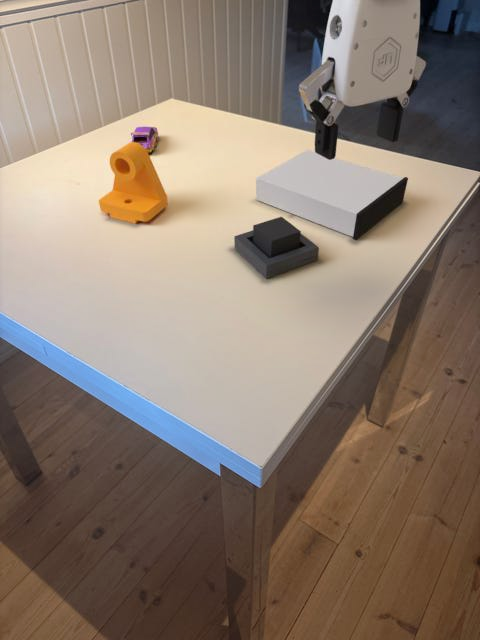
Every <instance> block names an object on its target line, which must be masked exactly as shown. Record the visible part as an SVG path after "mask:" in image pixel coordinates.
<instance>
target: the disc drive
mask: <svg viewBox="0 0 480 640" xmlns="http://www.w3.org/2000/svg"><path fill="white" fill-rule="evenodd" d="M408 181H409V177H408V176H404V177H400V176H397V175H394V174H390V173H387V172H383V171H381V170H377V169H375V168H371V167H368V166H364V165H360V164H358V163H353V162H351V161H347V160H345V159H340V158H338V157H335V158H334V159H331V160H329V159H327V158H325V157H323V156H321V155H319V154H317V153H316V152H315V150H310V149H306V150H304V151H302V152H301V153H299V154H297V155H295V156H294V157H292V158H290V159H288V160H286V161H285V162H283V163H280V164H279V165H277V166H275V167H274V168H272V169H270V170H269V171H266V172H265V173H262V175H259V176H257V177H255V200H256V201H258V202H261V203H264V204H266V205H269V206H271V207H274V208H276V209H279V210H282V211H285V212H287V213H290V214H292V215H295V216H297V217H300V218H302V219H305V220H308V221H311V222H313V223H315V224H318V225H320V226H323V227H326V228H329V229H331V230H334V231H336V232H338V233H342V234H344V235H347V236H349V237H351V238H352V240H354V241H357V240H358V239H360V238H361V237H362V236H363V235H364V234H365V233H367V231H369V230H370V229H372V228H373V227H374V226H375V225H376V224H378V223H379V222H380V221H382V220H383V219H384V218H385V217H386V216H388V215H389V214H390V213H392V211H394V210H395V209H396V208H397V207H399V206H400V205H401V204H402V203H403V202H404V198H405V194H406V190H407V185H408Z"/></svg>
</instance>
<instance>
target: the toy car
mask: <svg viewBox="0 0 480 640" xmlns="http://www.w3.org/2000/svg"><path fill="white" fill-rule="evenodd" d="M130 137H131V142H136V143H139V144H141V145H142V146H143V147H144V148H145V149H146V151H147V152H148V154H151V153H152V152H154V151H155V146H157V144H158V141H159V130H158V128H157V127H156V126H136V127H135V130H134V131H133V132H131V133H130Z"/></svg>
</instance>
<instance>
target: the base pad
mask: <svg viewBox="0 0 480 640" xmlns="http://www.w3.org/2000/svg"><path fill="white" fill-rule="evenodd" d="M233 237H234V238H233V239H234V241H233V243H234V250H235V251H236V252H237V253H238V254H239V255H240V256H241V257H242V258H244V259H245V260H246V261H247V262H248V263H249V264H250V265H251V266H252V267H253V268H254V269H255V270H256V271H257V272H259V274H260V275H262V277H263V278H265V279H266V280H267V279H270V278H272V277H276V276H278V275H282V274H284V273H286V272H289V271H292V270H294V269H297V268H300V267H303V266H305V265H308V264H312V263H313V262H317V261H318V260H319V251H320V247H319V246H318V245H317V244H315V243H314V242H313V241H312V240H310V239H309V238H308V237H306V236H305V235H304V234H302V233H301V234H300V247H299V249H296V250H293V251H290V252H287V253H284V254H281V255H278V256H275V257H273V258H270V259H269V258H268V257H267V256H266V255H265V254H264V253H263V252H262V251H261V250H259V249H258V248H257V247H256V246H255V245H254V244H253V229H252V230H250V231H246V232H243V233H240V234H237V235H234V236H233Z"/></svg>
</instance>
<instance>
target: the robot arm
mask: <svg viewBox="0 0 480 640" xmlns="http://www.w3.org/2000/svg"><path fill="white" fill-rule="evenodd" d="M420 21H421V0H332V3H331V6H330V12H329V15H328V20H327V24H326V30H325V35H324V42H323V49H322V55H321V56H322V57H321V65H320V66H319V67H318V68H317V69H315V70H314V71H313V72H312V73H310V74H309V75H308V76H307V77H306V78H305V79H304V80H303V81H301V82H300V83H299V85H298V91H299V94H300V97H301V99H302V102H303V106H304V109H305V110H306V111H307V112H308V113H309V114H310V116H311V118H312V119H313V120H314V121H315V132H314V134H315V135H314V152H316V153H317V154H319V155H321V156H323V157H325V158H327V159H329V160H331V159H334V158H336V157H337V156H336V155H337V146H338V145H337V144H338V136H339V124H337V123H335V122H336V120H337V118H338V117H339V115H340V114H341V112H342V110H344V108H345V106H347V107H358V106H363V105H367V104H371V103H375V102H380V101H382V102H381V103H380V107H379V114H378V120H377V127H376V135H377V137H379V138H382V139H383V140H386V141H388V142H391V143H396V142H398V141H399V136H400V131H401V125H402V121H403V120H402V119H403V114H404V108H406V107H407V106H408V105H409V103H410V97H411V96H412V95H413V93H414V92H415V90H416V89H417V87H418V81H419V80H420V78H421V76H422V74H423V73H424V70H425V68H426V65H427V62H426V61H425V60H424V59H422V58H421V57H420V56H418V55H417V54H418V44H419V36H420V35H419V34H420V23H421V22H420ZM319 90H320V93H321V97H320V98H319V95H318V92H319ZM383 100H385V101H383ZM331 103H332V104H331ZM329 106H330V107H329ZM328 108H329V109H328Z"/></svg>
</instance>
